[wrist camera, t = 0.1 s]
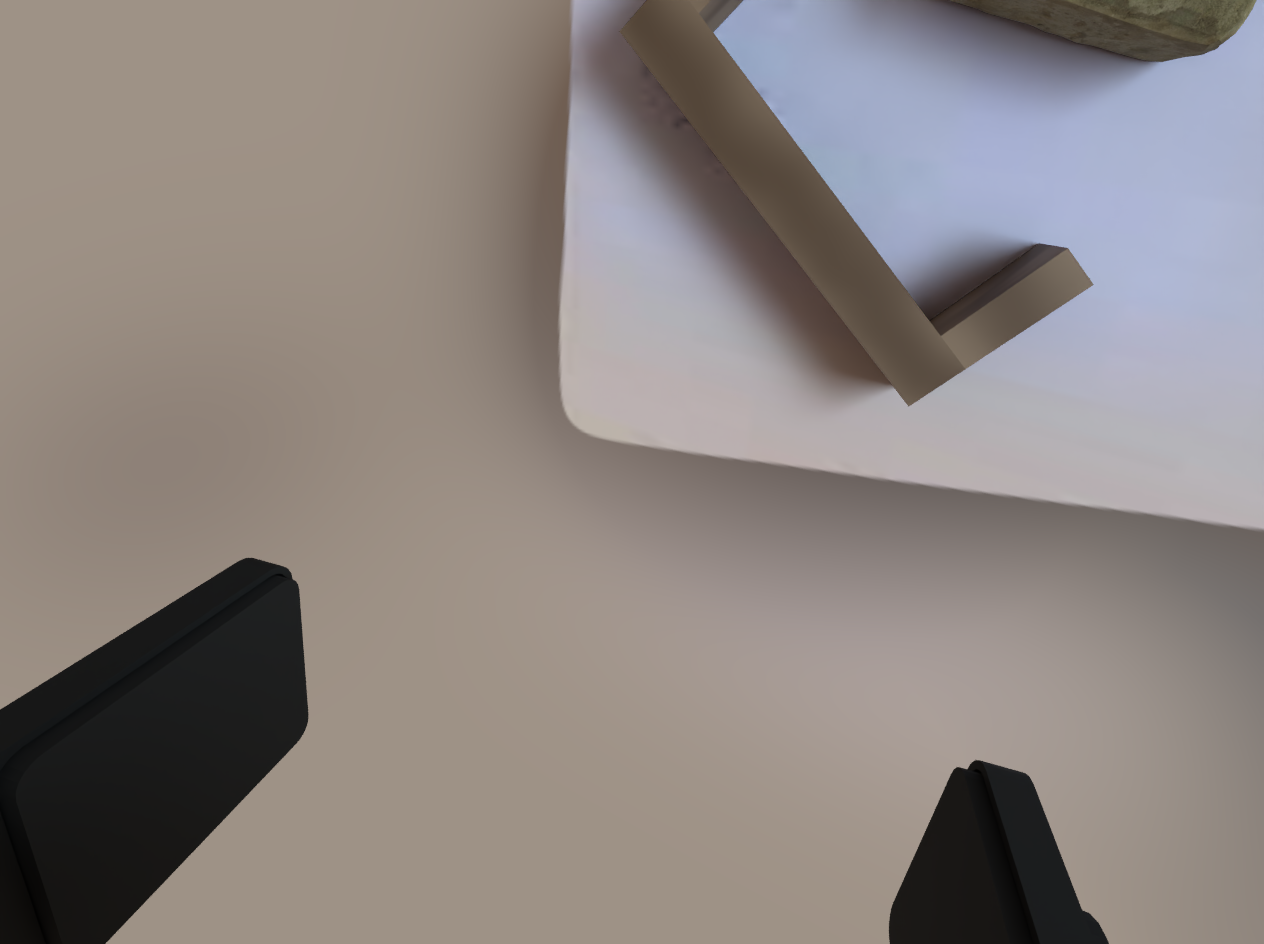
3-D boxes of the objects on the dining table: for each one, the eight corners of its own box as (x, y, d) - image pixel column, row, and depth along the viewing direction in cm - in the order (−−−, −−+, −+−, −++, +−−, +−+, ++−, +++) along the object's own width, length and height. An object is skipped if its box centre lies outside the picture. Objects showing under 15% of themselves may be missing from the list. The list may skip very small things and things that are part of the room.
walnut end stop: (786, -113, 30) (783, -157, 26) (1062, 276, 33) (1093, 284, 29) (639, 50, 34) (619, 31, 30) (899, 386, 36) (908, 406, 33)
